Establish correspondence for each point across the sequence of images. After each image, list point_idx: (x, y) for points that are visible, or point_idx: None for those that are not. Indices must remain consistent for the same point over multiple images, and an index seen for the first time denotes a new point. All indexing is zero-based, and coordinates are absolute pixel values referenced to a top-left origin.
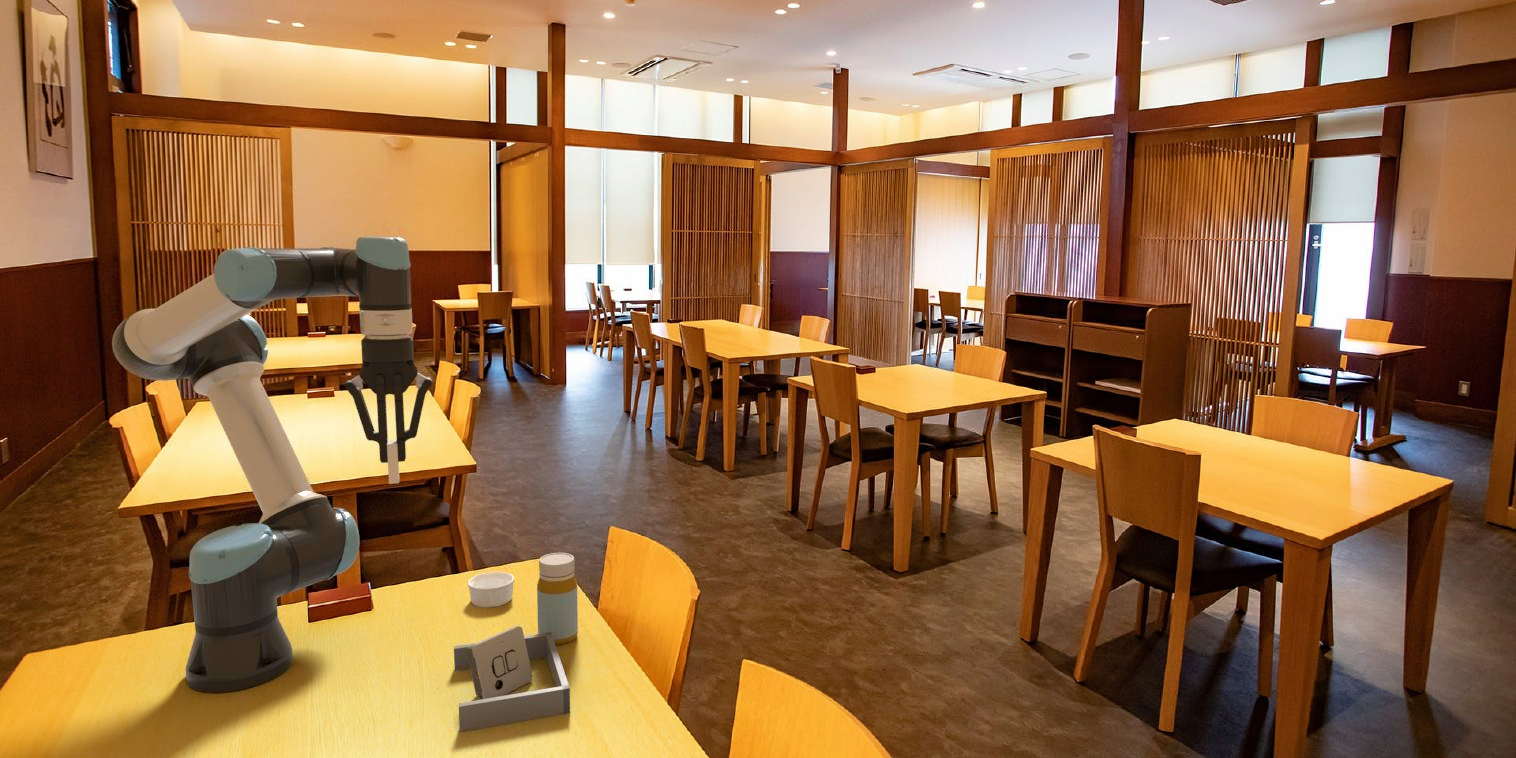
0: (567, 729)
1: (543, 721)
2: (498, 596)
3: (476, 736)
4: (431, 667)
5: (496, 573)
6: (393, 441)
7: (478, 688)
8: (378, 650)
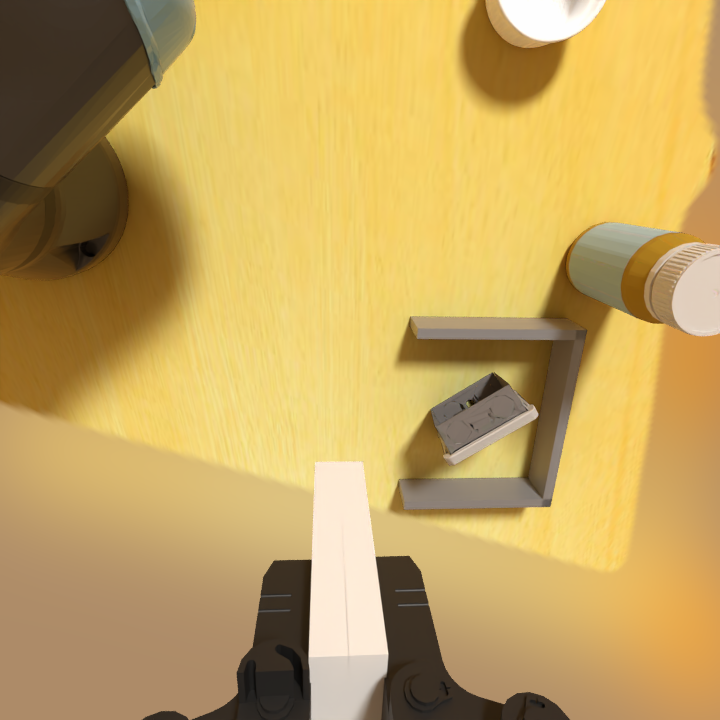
0: (520, 516)
1: None
2: (547, 43)
3: None
4: (374, 298)
5: None
6: (356, 689)
7: (436, 419)
8: (283, 193)
